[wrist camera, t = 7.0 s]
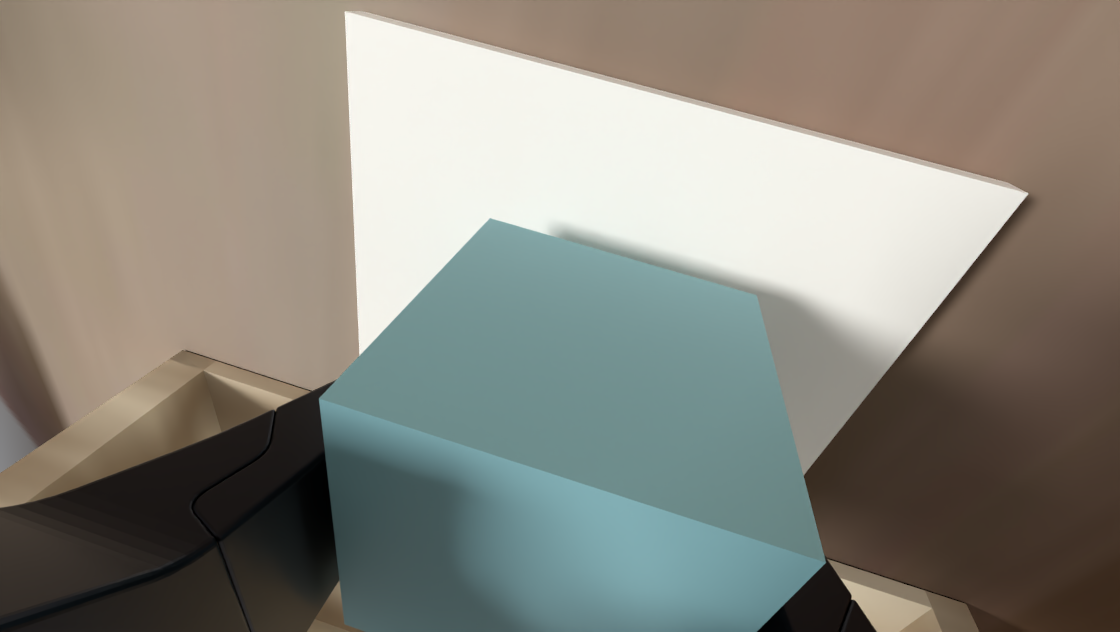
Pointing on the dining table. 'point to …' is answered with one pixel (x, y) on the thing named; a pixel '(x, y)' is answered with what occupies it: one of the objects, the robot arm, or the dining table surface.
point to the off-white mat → (656, 201)
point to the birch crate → (238, 395)
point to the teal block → (566, 452)
